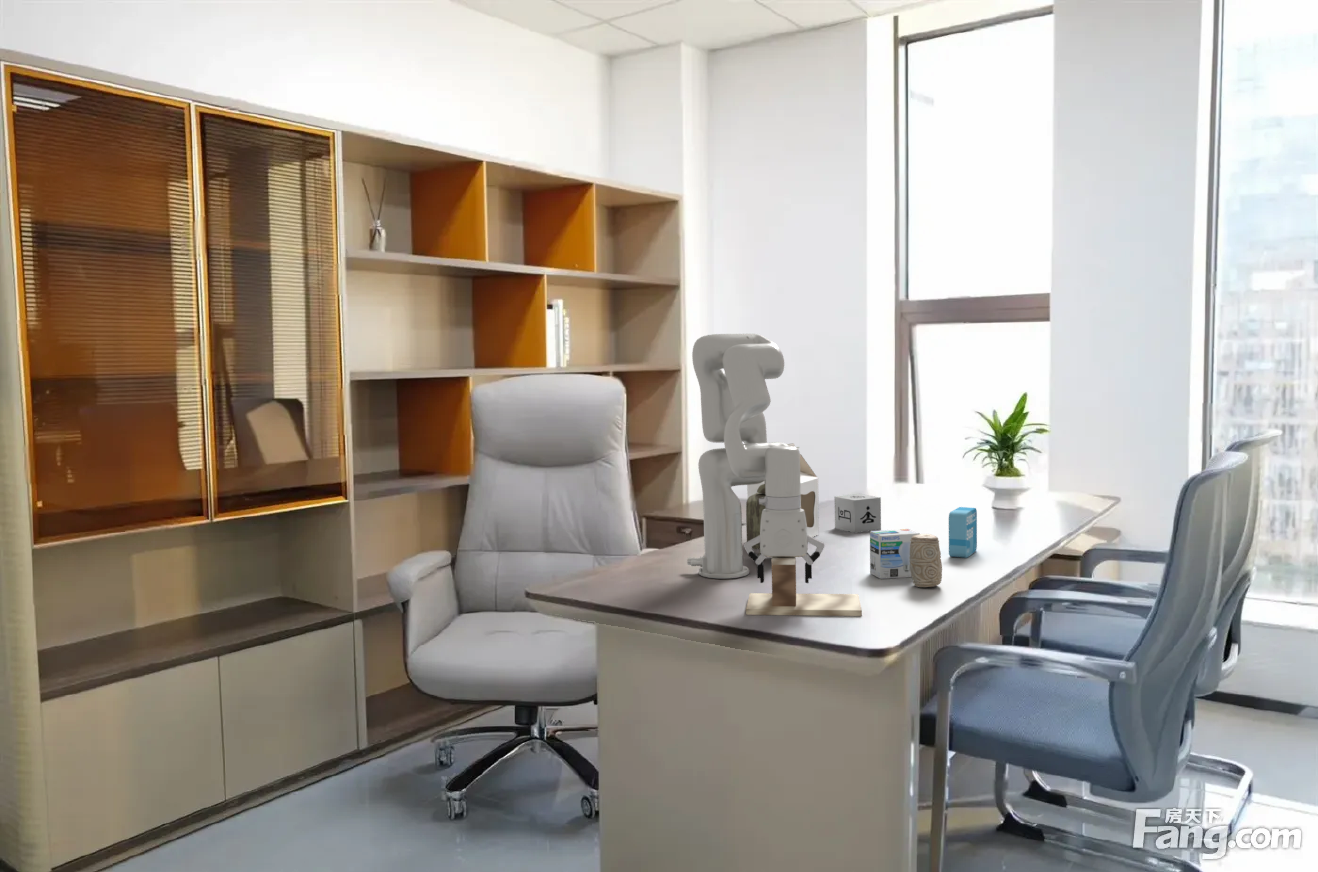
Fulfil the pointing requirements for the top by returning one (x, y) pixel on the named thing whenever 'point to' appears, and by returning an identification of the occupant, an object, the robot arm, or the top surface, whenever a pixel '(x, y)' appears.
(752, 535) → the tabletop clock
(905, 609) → the top surface
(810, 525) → the gable box
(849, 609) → the birch board
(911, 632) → the top surface
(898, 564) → the light bulb box
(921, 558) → the carving
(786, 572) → the walnut block
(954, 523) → the data package
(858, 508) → the icon cube
